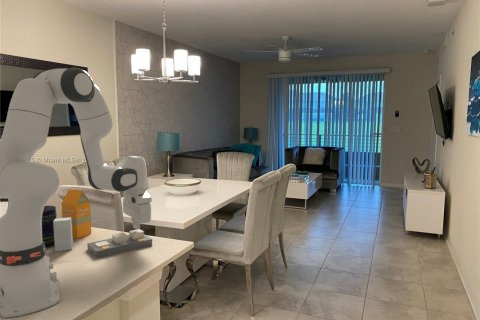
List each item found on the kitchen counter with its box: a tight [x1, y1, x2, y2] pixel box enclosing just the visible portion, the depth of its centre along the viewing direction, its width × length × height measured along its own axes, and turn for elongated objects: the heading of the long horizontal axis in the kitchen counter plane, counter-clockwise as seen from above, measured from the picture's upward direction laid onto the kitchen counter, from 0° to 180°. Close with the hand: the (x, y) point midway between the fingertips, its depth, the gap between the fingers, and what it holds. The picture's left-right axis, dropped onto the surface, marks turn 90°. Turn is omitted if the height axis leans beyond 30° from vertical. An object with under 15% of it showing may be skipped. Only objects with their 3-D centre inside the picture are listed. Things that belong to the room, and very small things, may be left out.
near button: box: [94, 241, 110, 248], centre depth 141 cm, size 4×4×3 cm
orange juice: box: [61, 189, 92, 239], centre depth 158 cm, size 8×9×20 cm
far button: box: [128, 229, 145, 240], centre depth 149 cm, size 4×4×3 cm
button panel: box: [87, 234, 153, 259], centre depth 145 cm, size 11×22×3 cm, turn 129°
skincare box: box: [53, 217, 74, 252], centre depth 142 cm, size 6×4×12 cm
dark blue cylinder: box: [42, 205, 57, 249], centre depth 146 cm, size 10×10×15 cm
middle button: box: [111, 231, 128, 244], centre depth 145 cm, size 4×4×3 cm
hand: (136, 228), depth 149 cm, fingers closed
